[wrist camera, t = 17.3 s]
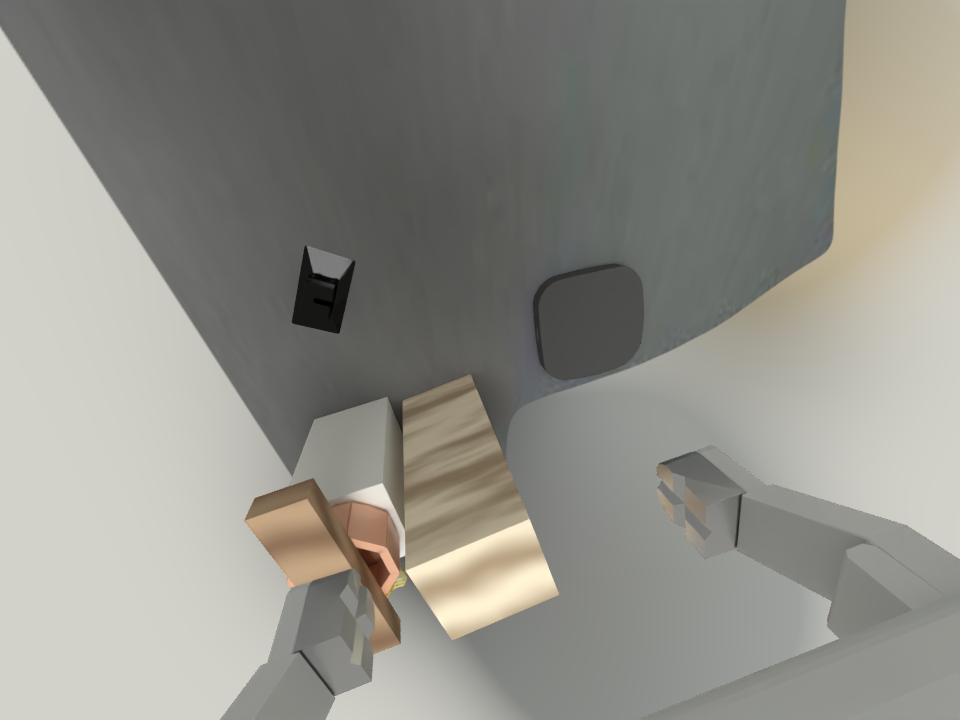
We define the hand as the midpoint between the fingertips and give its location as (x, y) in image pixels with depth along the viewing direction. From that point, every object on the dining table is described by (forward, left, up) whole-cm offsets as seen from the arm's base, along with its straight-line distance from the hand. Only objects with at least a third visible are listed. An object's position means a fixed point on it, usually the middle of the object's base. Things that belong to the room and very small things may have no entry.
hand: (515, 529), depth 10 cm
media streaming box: (+13, +19, -40) cm, 46 cm away
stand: (+21, -3, -39) cm, 44 cm away
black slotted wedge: (-1, -12, -40) cm, 42 cm away
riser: (+20, -15, -39) cm, 46 cm away
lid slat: (+18, -15, -18) cm, 30 cm away
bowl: (+20, -15, -22) cm, 33 cm away
